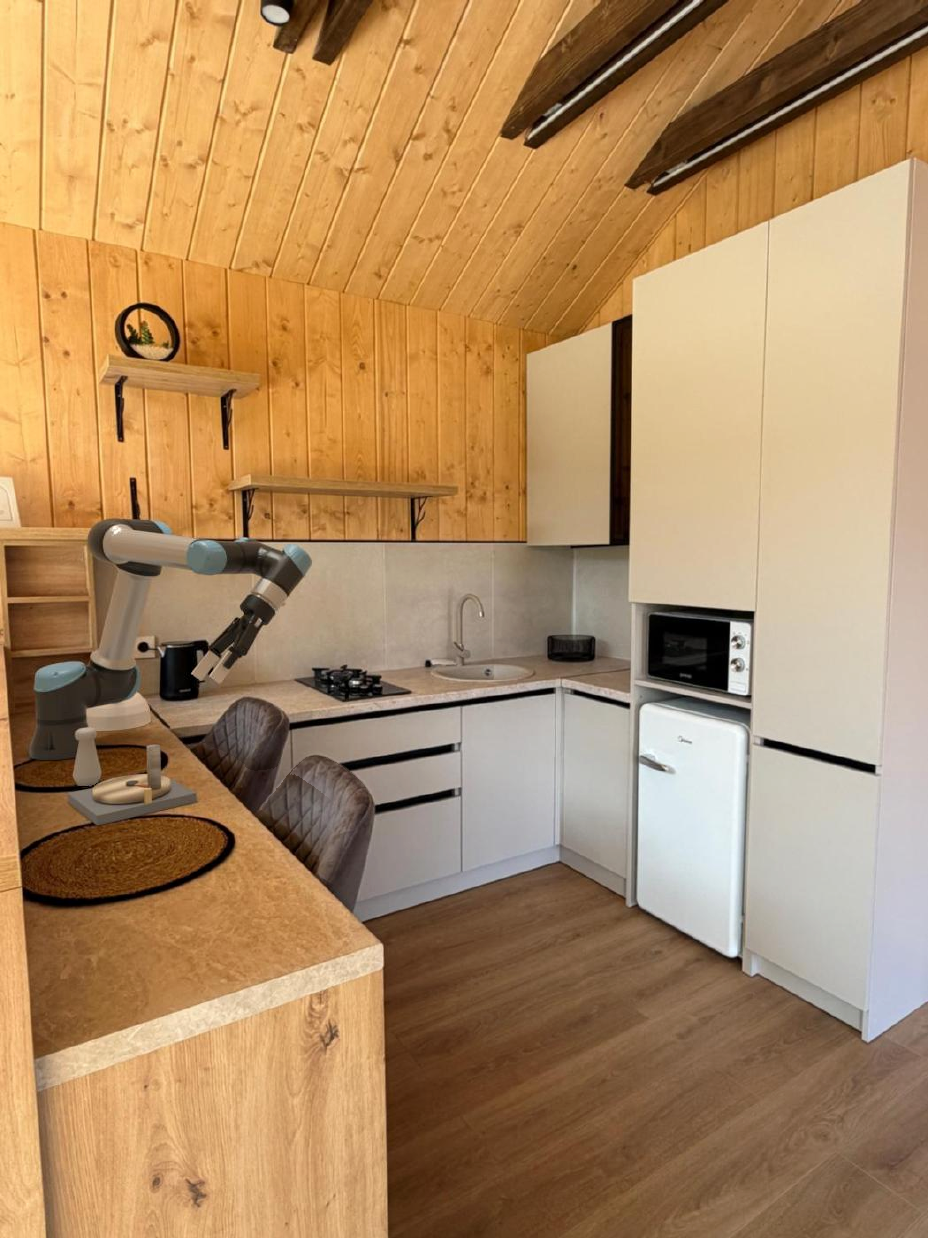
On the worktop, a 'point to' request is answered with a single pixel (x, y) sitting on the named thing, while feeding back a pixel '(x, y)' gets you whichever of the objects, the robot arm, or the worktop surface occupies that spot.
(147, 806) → the stand base
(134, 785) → the dial
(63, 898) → the worktop surface
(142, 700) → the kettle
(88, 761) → the salt shaker
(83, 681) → the robot arm
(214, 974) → the worktop surface
